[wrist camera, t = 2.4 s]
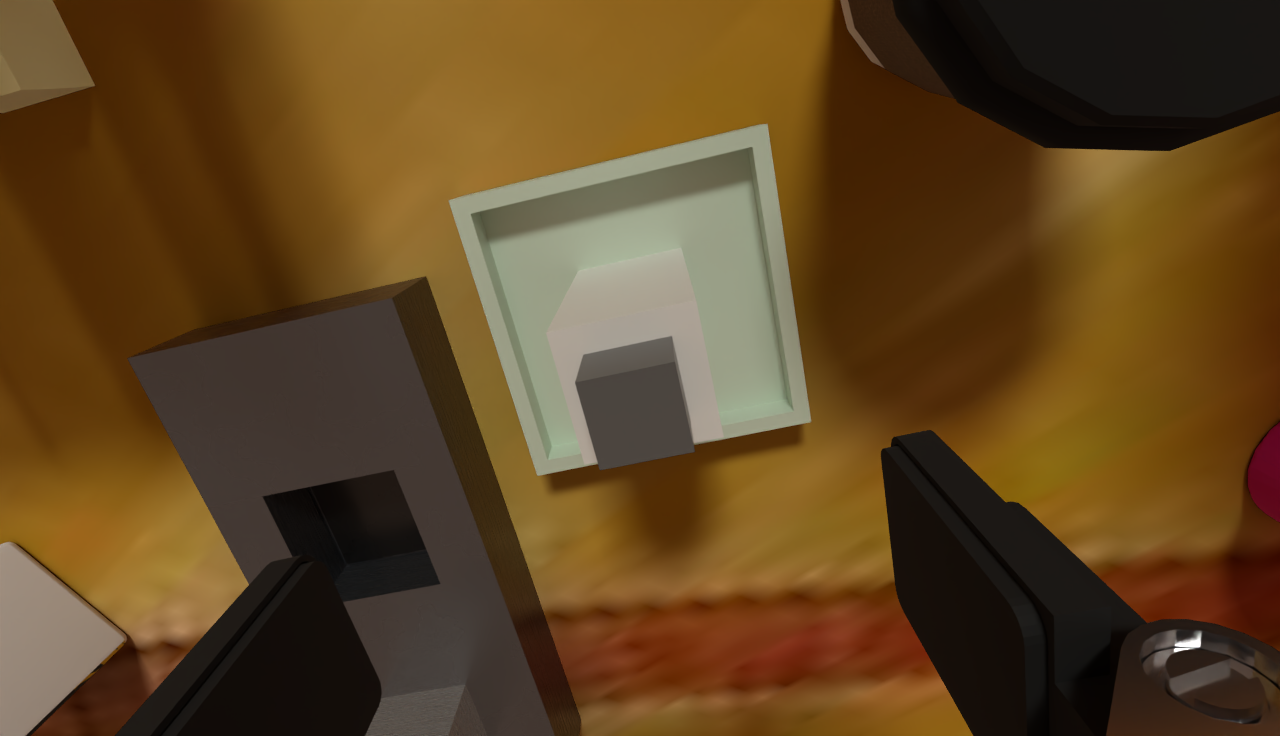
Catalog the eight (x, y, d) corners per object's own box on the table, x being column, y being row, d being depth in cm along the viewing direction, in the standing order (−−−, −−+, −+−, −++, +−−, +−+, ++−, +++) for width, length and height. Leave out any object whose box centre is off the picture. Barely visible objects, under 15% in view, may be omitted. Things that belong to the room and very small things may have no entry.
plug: (578, 270, 24) (532, 358, 15) (681, 247, 24) (702, 322, 14) (603, 367, 25) (576, 503, 16) (701, 346, 25) (732, 473, 16)
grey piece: (193, 329, 26) (-137, 470, 15) (425, 276, 25) (253, 385, 14) (400, 749, 34) (283, 1037, 23) (580, 720, 33) (547, 1006, 22)
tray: (462, 195, 24) (448, 200, 22) (758, 124, 23) (767, 123, 21) (544, 454, 27) (537, 475, 26) (800, 403, 26) (811, 421, 25)
